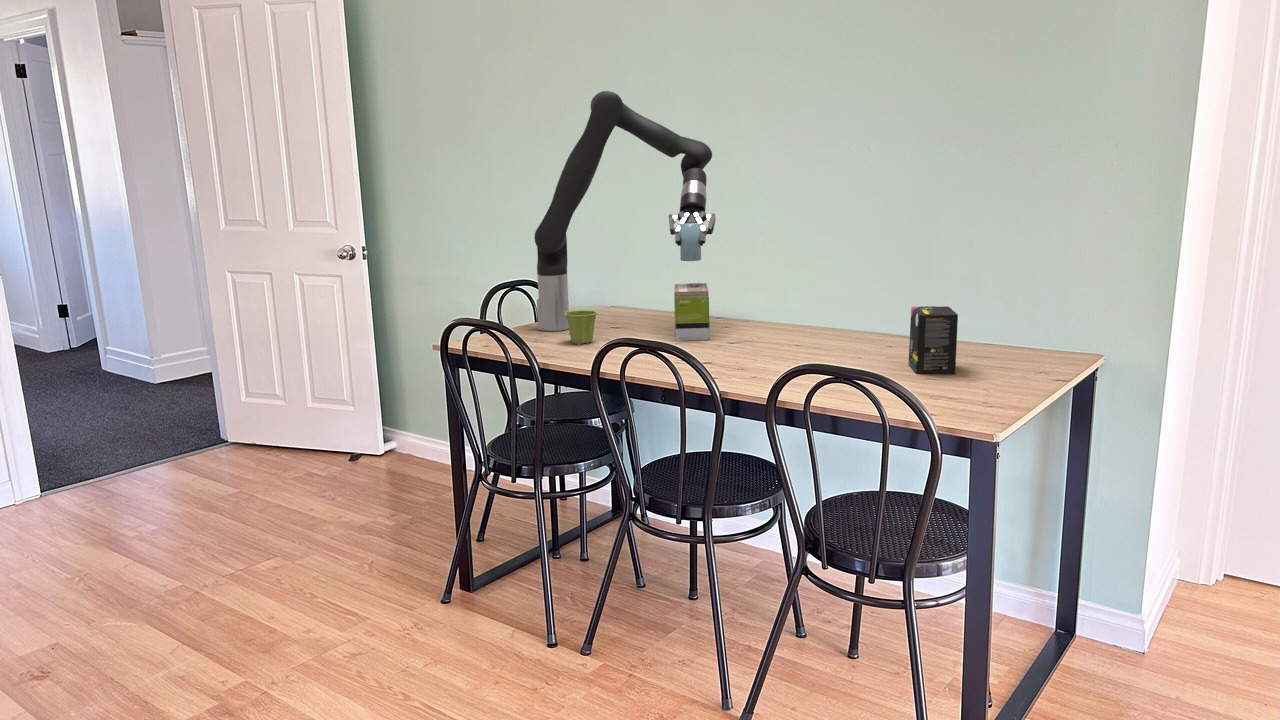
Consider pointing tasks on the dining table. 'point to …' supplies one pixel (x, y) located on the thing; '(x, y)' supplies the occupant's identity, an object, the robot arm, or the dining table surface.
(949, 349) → the tampon box
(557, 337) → the dining table surface
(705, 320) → the tea box
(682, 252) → the light blue rounded cylinder
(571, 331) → the plant pot
